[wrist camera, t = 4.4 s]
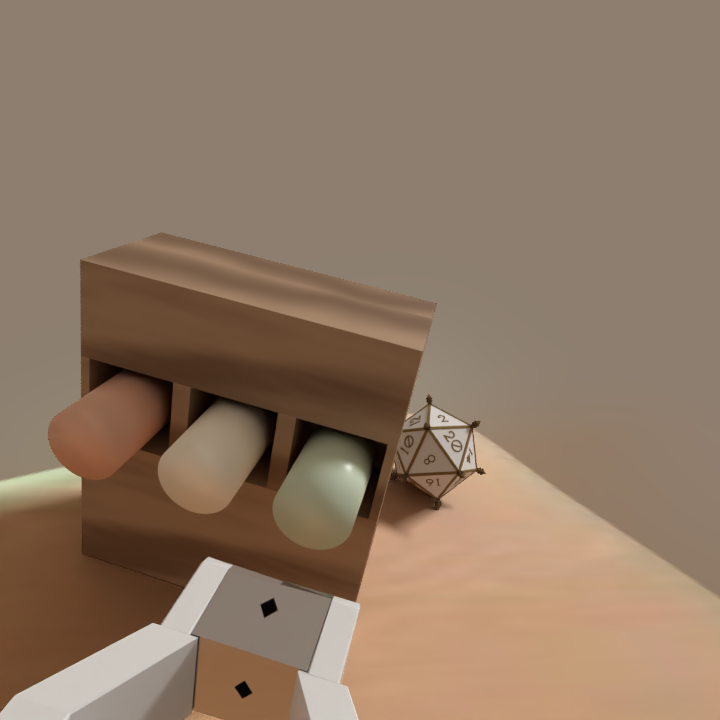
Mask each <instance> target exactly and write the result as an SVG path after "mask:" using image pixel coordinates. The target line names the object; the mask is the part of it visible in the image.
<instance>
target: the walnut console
mask: <svg viewBox="0 0 720 720" xmlns="http://www.w3.org/2000/svg"><path fill="white" fill-rule="evenodd" d="M80 261H81V262H80V264H81V266H80V269H81V271H80V272H81V273H80V274H81V398H82V397H84V396H85V395H87V394H88V393H90V392H91V391H93V390H94V389H96V388H97V387H99V386H100V385H102V384H103V383H105V382H106V381H107V380H109V379H110V378H112V377H113V376H115V375H116V374H118V373H119V372H121V371H122V370H124V369H128V370H132V371H135V372H139V373H142V374H146V375H149V376H153V377H156V378H159V379H163V380H166V381H170V382H173V395H172V409H171V420H170V421H169V422H168V423H167V424H166V425H165V426H164V427H163V428H162V429H161V430H160V431H159V432H158V433H157V434H155V435H154V436H153V437H152V438H151V439H150V440H149V441H148V442H147V443H146V444H145V445H144V446H143V447H142V448H140V449H139V450H138V451H137V452H136V453H135V454H134V455H133V456H132V457H131V458H130V459H129V460H128V461H127V462H125V463H124V464H123V465H122V466H121V467H120V468H119V469H118V470H117V471H116V472H115V473H114V474H113V475H111V476H110V477H108V478H105V479H101V480H91V479H86V478H83V477H82V554H85V555H88V556H91V557H94V558H97V559H100V560H103V561H106V562H109V563H112V564H115V565H118V566H121V567H124V568H127V569H130V570H133V571H137V572H140V573H143V574H146V575H149V576H152V577H155V578H158V579H161V580H164V581H167V582H170V583H173V584H176V585H179V586H182V587H186V585H187V584H188V582H189V581H190V579H191V578H192V576H193V575H194V573H195V572H196V570H197V569H198V567H199V566H200V564H201V563H202V562H203V561H204V560H205V559H206V558H208V557H211V558H214V559H217V560H220V561H223V562H226V563H229V564H232V565H236V566H239V567H242V568H245V569H248V570H251V571H254V572H257V573H259V574H262V575H265V576H268V577H271V578H274V579H277V580H280V581H286V582H289V583H293V584H296V585H300V586H303V587H306V588H310V589H313V590H316V591H320V592H323V593H327V594H330V595H333V596H336V597H339V598H343V599H346V600H349V601H353V602H356V599H357V596H358V592H359V589H360V585H361V581H362V578H363V574H364V571H365V567H366V564H367V560H368V556H369V553H370V549H371V545H372V542H373V538H374V534H375V531H376V527H377V523H378V520H379V516H380V512H381V508H382V505H383V501H384V497H385V494H386V490H387V486H388V483H389V479H390V475H391V471H392V468H393V464H394V460H395V457H396V453H397V449H398V446H399V442H400V438H401V434H402V431H403V427H404V423H405V420H406V416H407V412H408V409H409V404H410V401H411V397H412V393H413V390H414V386H415V382H416V379H417V375H418V371H419V368H420V364H421V361H422V357H423V353H424V349H425V345H426V342H427V338H428V334H429V331H430V327H431V324H432V320H433V316H434V312H435V309H436V305H437V303H433V302H429V301H425V300H421V299H417V298H414V297H409V296H406V295H402V294H398V293H394V292H390V291H386V290H382V289H378V288H374V287H371V286H367V285H363V284H359V283H355V282H352V281H348V280H344V279H340V278H336V277H332V276H328V275H324V274H320V273H317V272H313V271H309V270H305V269H301V268H297V267H293V266H289V265H285V264H282V263H278V262H274V261H270V260H266V259H262V258H258V257H255V256H251V255H247V254H243V253H239V252H235V251H231V250H227V249H223V248H220V247H216V246H211V245H208V244H204V243H200V242H196V241H192V240H189V239H185V238H181V237H176V236H173V235H169V234H165V233H159V234H156V235H153V236H150V237H147V238H144V239H141V240H138V241H135V242H132V243H129V244H126V245H123V246H120V247H117V248H114V249H111V250H108V251H105V252H102V253H99V254H96V255H93V256H90V257H87V258H84V259H81V260H80ZM220 396H222V397H225V398H229V399H232V400H236V401H239V402H243V403H246V404H250V405H253V406H257V407H260V408H264V409H267V410H271V411H272V413H273V415H274V418H275V422H276V430H275V436H274V438H273V440H272V442H271V443H270V445H269V446H268V448H267V449H266V450H265V452H264V453H263V455H262V456H261V458H260V459H259V461H258V462H257V464H256V465H255V467H254V468H253V469H252V471H251V472H250V474H249V475H248V477H247V478H246V480H245V481H244V483H243V484H242V486H241V487H240V488H239V490H238V491H237V493H236V494H235V496H234V497H233V499H232V500H231V502H230V503H229V504H228V505H227V507H225V508H224V509H223V510H221V511H219V512H216V513H212V514H199V513H194V512H191V511H188V510H186V509H184V508H182V507H181V506H179V505H178V504H176V503H175V502H174V501H173V500H172V499H171V498H170V497H169V496H168V495H167V494H166V492H165V491H164V489H163V488H162V486H161V483H160V481H159V477H158V464H159V461H160V458H161V456H162V455H163V454H164V453H165V452H166V451H167V450H168V449H169V448H170V447H171V446H172V445H173V444H174V442H175V441H176V440H177V439H178V438H179V437H180V436H181V435H182V434H183V433H184V432H185V431H186V430H187V429H188V428H189V427H190V426H191V425H192V424H193V423H194V422H195V421H196V420H197V419H198V418H199V417H200V416H201V415H202V414H203V413H204V412H205V411H206V410H207V409H208V408H209V407H210V406H211V405H212V404H213V403H214V402H215V401H216V400H217V399H218V398H219V397H220ZM318 425H323V426H326V427H330V428H333V429H337V430H340V431H344V432H347V433H350V434H354V435H357V436H361V437H364V438H368V439H371V440H373V442H374V444H375V448H376V460H375V463H374V466H373V469H372V472H371V475H370V478H369V481H368V484H367V487H366V490H365V493H364V496H363V499H362V502H361V505H360V508H359V511H358V514H357V517H356V520H355V523H354V526H353V529H352V532H351V534H350V536H349V537H348V538H347V540H346V541H344V542H343V543H342V544H340V545H339V546H337V547H334V548H331V549H326V550H315V549H310V548H306V547H303V546H300V545H298V544H296V543H295V542H293V541H291V540H290V539H289V538H288V537H286V536H285V535H284V534H283V532H282V531H281V530H280V529H279V527H278V526H277V524H276V522H275V519H274V516H273V501H274V498H275V496H276V494H277V492H278V491H279V489H280V487H281V485H282V484H283V482H284V480H285V478H286V477H287V475H288V473H289V471H290V470H291V468H292V466H293V464H294V463H295V461H296V459H297V458H298V456H299V454H300V452H301V451H302V449H303V447H304V445H305V444H306V442H307V440H308V438H309V437H310V435H311V433H312V432H313V430H314V429H315V428H316V427H317V426H318ZM333 598H334V597H333Z"/></svg>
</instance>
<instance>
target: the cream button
mask: <svg viewBox="0 0 720 720" xmlns="http://www.w3.org/2000/svg"><path fill="white" fill-rule="evenodd" d="M275 430H276V422H275V418H274V415H273V413H272V411H271V410H267V409H264V408H260V407H257V406H253V405H250V404H246V403H243V402H239V401H236V400H232V399H229V398H225V397H222V396H220V397H219V398H218V399H217V400H216V401H215V402H214V403H213V404H212V405H211V406H210V407H209V408H208V409H207V410H206V411H205V412H204V413H203V414H202V415H201V416H200V417H199V418H198V419H197V420H196V421H195V422H194V423H193V424H192V425H191V426H190V427H189V428H188V429H187V430H186V431H185V432H184V433H183V434H182V435H181V436H180V437H179V438H178V439H177V440H176V441H175V442H174V444H173V445H172V446H171V447H170V448H169V449H168V450H167V451H166V452H165V453H164V454H163V455H162V456H161V458H160V461H159V464H158V477H159V481H160V483H161V486H162V488H163V489H164V491H165V492H166V494H167V495H168V496H169V497H170V498H171V499H172V500H173V501H174V502H175V503H176V504H178V505H179V506H181V507H182V508H184V509H186V510H188V511H191V512H194V513H199V514H212V513H216V512H219V511H221V510H223V509H224V508H225V507H227V505H228V504H229V503H230V502H231V500H232V499H233V497H234V496H235V494H236V493H237V491H238V490H239V488H240V487H241V486H242V484H243V483H244V481H245V480H246V478H247V477H248V475H249V474H250V472H251V471H252V469H253V468H254V467H255V465H256V464H257V462H258V461H259V459H260V458H261V456H262V455H263V453H264V452H265V450H266V449H267V448H268V446H269V445H270V443H271V442H272V440H273V438H274V436H275Z"/></svg>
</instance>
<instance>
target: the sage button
mask: <svg viewBox="0 0 720 720" xmlns="http://www.w3.org/2000/svg"><path fill="white" fill-rule="evenodd" d="M375 460H376V448H375V444H374V442H373V440H371V439H368V438H364V437H361V436H357V435H354V434H350V433H347V432H344V431H340V430H337V429H333V428H330V427H326V426H323V425H318V426H317V427H316V428H315V429H314V430H313V432H312V433H311V435H310V437H309V438H308V440H307V442H306V444H305V445H304V447H303V449H302V451H301V452H300V454H299V456H298V458H297V459H296V461H295V463H294V464H293V466H292V468H291V470H290V471H289V473H288V475H287V477H286V478H285V480H284V482H283V484H282V485H281V487H280V489H279V491H278V492H277V494H276V496H275V498H274V501H273V516H274V519H275V522H276V524H277V526H278V527H279V529H280V530H281V531H282V532H283V534H284V535H285V536H286V537H288V538H289V539H290V540H291V541H293V542H295V543H296V544H298V545H300V546H303V547H306V548H310V549H315V550H326V549H331V548H334V547H337V546H339V545H340V544H342V543H343V542H344V541H346V540H347V538H348V537H349V536H350V534H351V532H352V529H353V526H354V523H355V520H356V517H357V514H358V511H359V508H360V505H361V502H362V499H363V496H364V493H365V490H366V487H367V484H368V481H369V478H370V475H371V472H372V469H373V466H374V463H375Z"/></svg>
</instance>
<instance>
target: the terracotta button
mask: <svg viewBox="0 0 720 720" xmlns="http://www.w3.org/2000/svg"><path fill="white" fill-rule="evenodd" d="M172 395H173V382H170V381H166V380H163V379H159V378H156V377H153V376H149V375H146V374H142V373H139V372H135V371H132V370H128V369H124V370H122V371H121V372H119V373H118V374H116V375H115V376H113V377H112V378H110V379H109V380H107V381H106V382H105V383H103V384H102V385H100V386H99V387H97V388H96V389H94V390H93V391H91V392H90V393H88V394H87V395H85V396H84V397H82V398H81V399H79V400H78V401H77V402H75V403H74V404H72V405H70V406H69V407H67V408H66V409H64V410H63V411H62V412H60V413H59V414H57V415H56V416H55V417H54V418H53V419H52V421H51V423H50V425H49V429H48V440H49V444H50V447H51V449H52V451H53V453H54V455H55V456H56V458H57V459H58V460H59V461H60V463H61V464H62V465H63V466H64V467H66V468H67V469H68V470H69V471H71V472H72V473H74V474H76V475H78V476H80V477H83V478H86V479H91V480H101V479H105V478H108V477H110V476H111V475H113V474H114V473H115V472H116V471H117V470H118V469H119V468H120V467H121V466H122V465H123V464H124V463H125V462H127V461H128V460H129V459H130V458H131V457H132V456H133V455H134V454H135V453H136V452H137V451H138V450H139V449H140V448H142V447H143V446H144V445H145V444H146V443H147V442H148V441H149V440H150V439H151V438H152V437H153V436H154V435H155V434H157V433H158V432H159V431H160V430H161V429H162V428H163V427H164V426H165V425H166V424H167V423H168V422H169V421H170V420H171V409H172Z"/></svg>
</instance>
